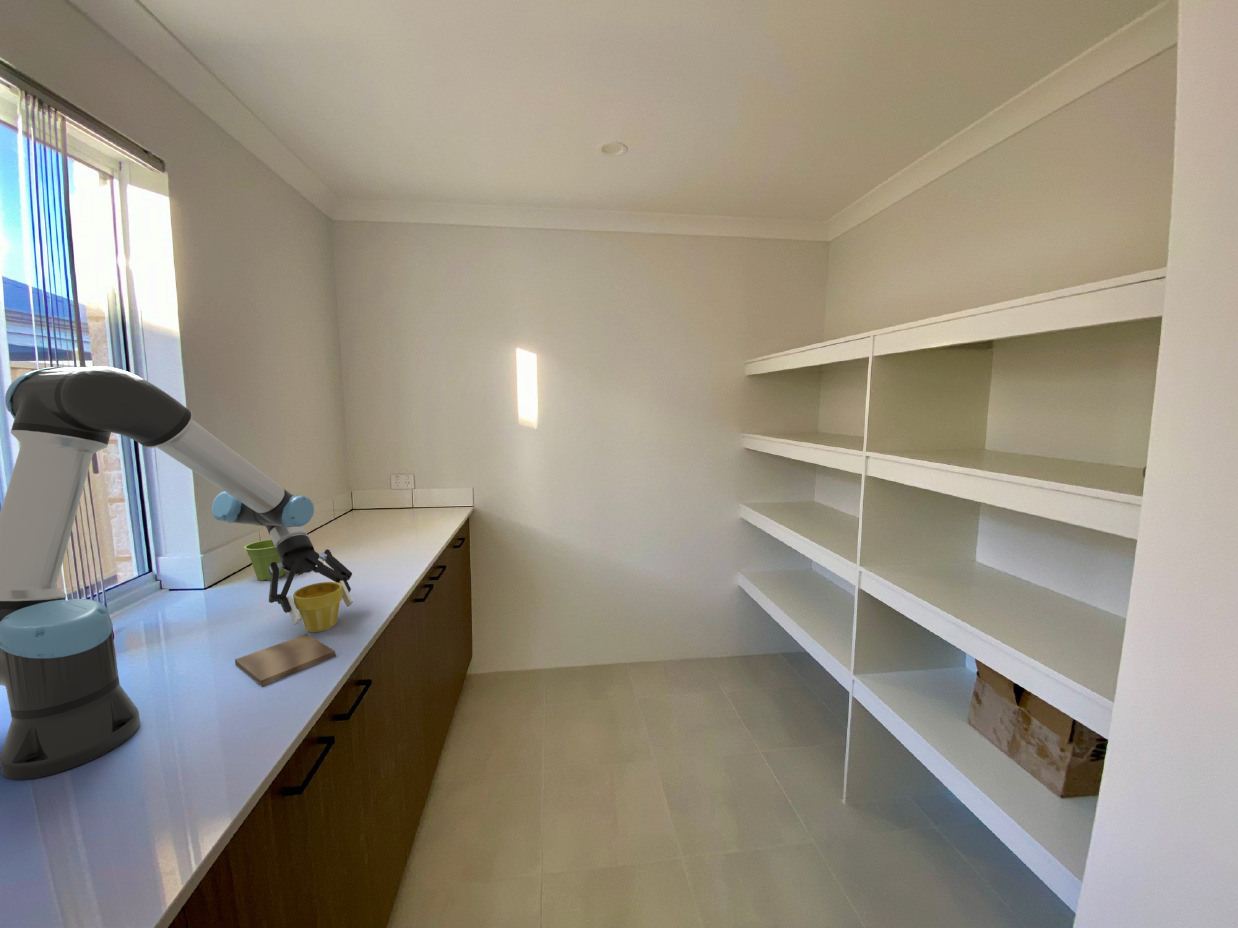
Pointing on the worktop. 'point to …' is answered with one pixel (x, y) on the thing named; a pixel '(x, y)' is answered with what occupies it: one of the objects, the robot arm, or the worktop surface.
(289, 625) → the worktop surface
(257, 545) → the plant pot
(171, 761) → the worktop surface
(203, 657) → the worktop surface
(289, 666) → the walnut board
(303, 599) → the plant pot
